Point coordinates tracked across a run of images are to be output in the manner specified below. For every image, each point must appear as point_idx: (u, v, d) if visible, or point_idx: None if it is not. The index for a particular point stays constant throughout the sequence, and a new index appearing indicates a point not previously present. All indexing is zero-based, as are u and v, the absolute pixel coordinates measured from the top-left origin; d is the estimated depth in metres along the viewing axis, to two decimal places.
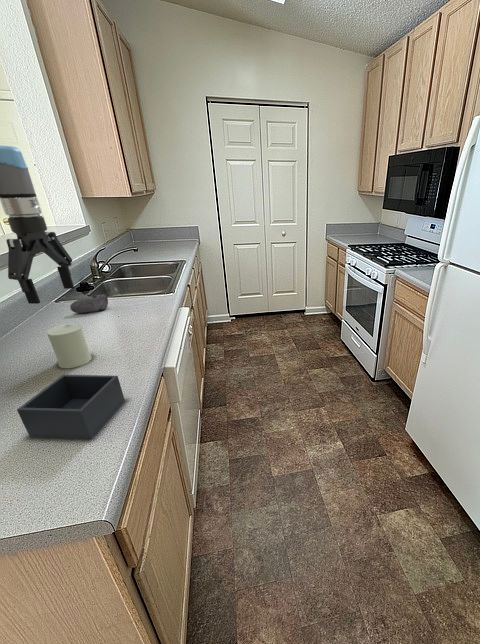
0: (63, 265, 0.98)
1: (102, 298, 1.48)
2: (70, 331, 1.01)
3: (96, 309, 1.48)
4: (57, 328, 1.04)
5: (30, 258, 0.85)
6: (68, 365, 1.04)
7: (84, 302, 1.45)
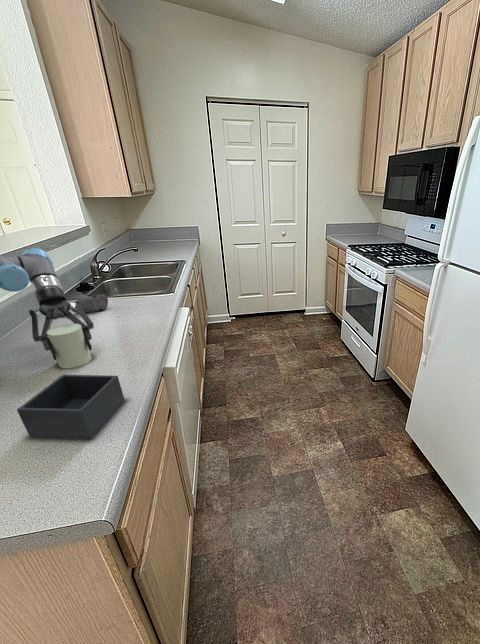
0: None
1: (102, 298, 1.48)
2: (70, 331, 1.01)
3: (96, 309, 1.48)
4: (57, 328, 1.04)
5: (46, 321, 1.03)
6: (68, 365, 1.04)
7: (84, 302, 1.45)
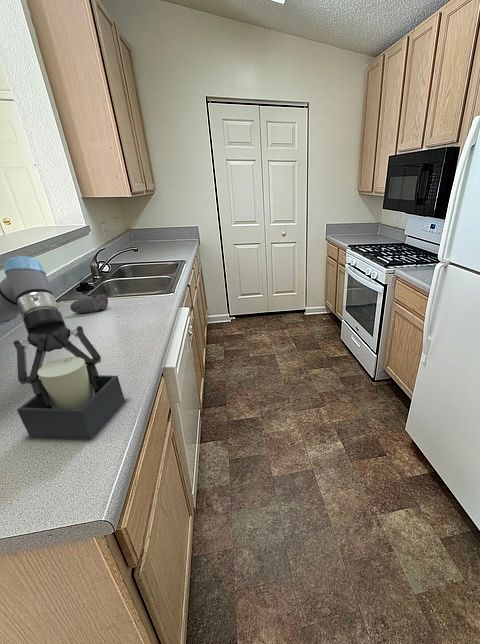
0: (87, 364, 0.80)
1: (102, 298, 1.48)
2: (70, 370, 0.74)
3: (96, 309, 1.48)
4: (52, 365, 0.76)
5: (38, 356, 0.76)
6: None
7: (84, 302, 1.45)
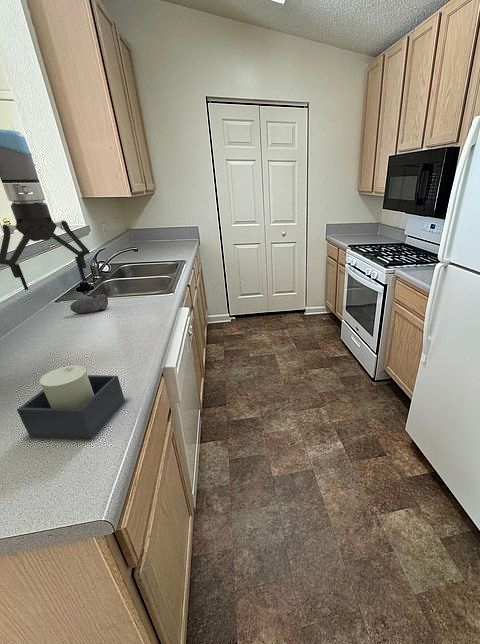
0: (78, 256, 0.94)
1: (102, 298, 1.48)
2: (71, 379, 0.75)
3: (96, 309, 1.48)
4: (54, 373, 0.77)
5: (22, 245, 0.85)
6: None
7: (84, 302, 1.45)
